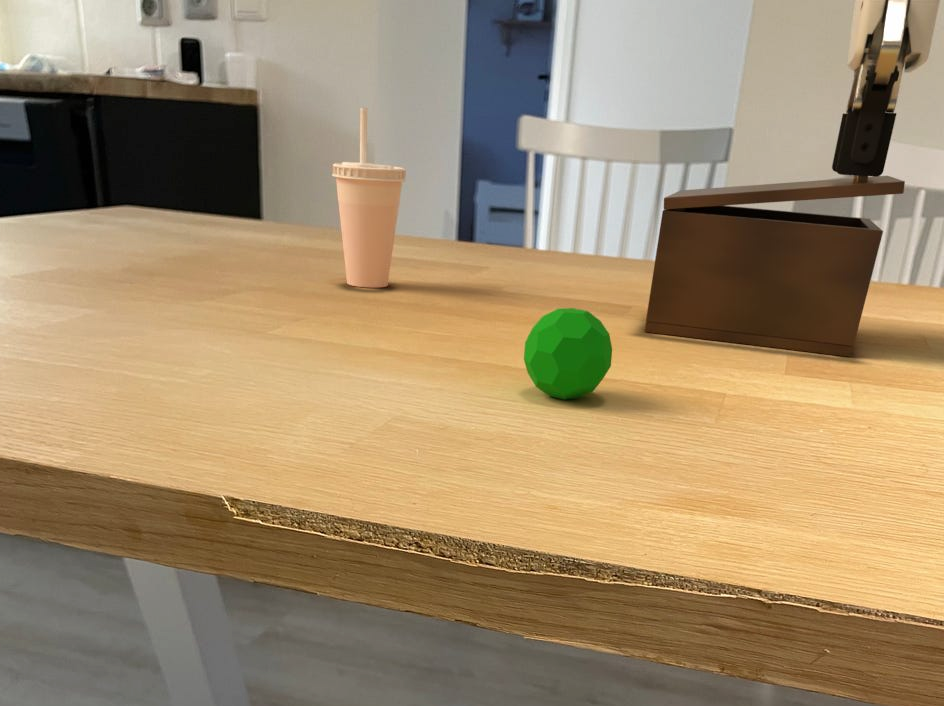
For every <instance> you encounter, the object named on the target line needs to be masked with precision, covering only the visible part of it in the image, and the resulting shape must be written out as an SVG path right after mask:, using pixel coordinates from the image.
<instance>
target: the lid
mask: <svg viewBox="0 0 944 706" xmlns="http://www.w3.org/2000/svg"><path fill="white" fill-rule="evenodd" d="M905 185H906V182H905V180H902V179H899V178H896V177H893V176H890V175H880V176H877V177H874V176H856V175H852V177H849V178H836V179H822V180H805V181H793V182H792V181H791V182H780V183H778V182H777V183H765V184H764V183H763V184H753V185H751V184H749V185H737V186H736V185H735V186H723V187H709V188H708V187H707V188H695V189H680V190H677V191H676V192H674V193H672V194H670V195H668V196H665V197H664V198H663V210H665V209H679V208H695V207H710V206H737V205H739V206H741V205H752V204H753V205H754V204H768V203H769V204H770V203H783V202H785V203H786V202H797V201H798V202H800V201H813V200H814V201H815V200H829V199H845V198H858V197H859V198H860V197H874V196H891V195H902V194H904V192H905Z"/></svg>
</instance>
